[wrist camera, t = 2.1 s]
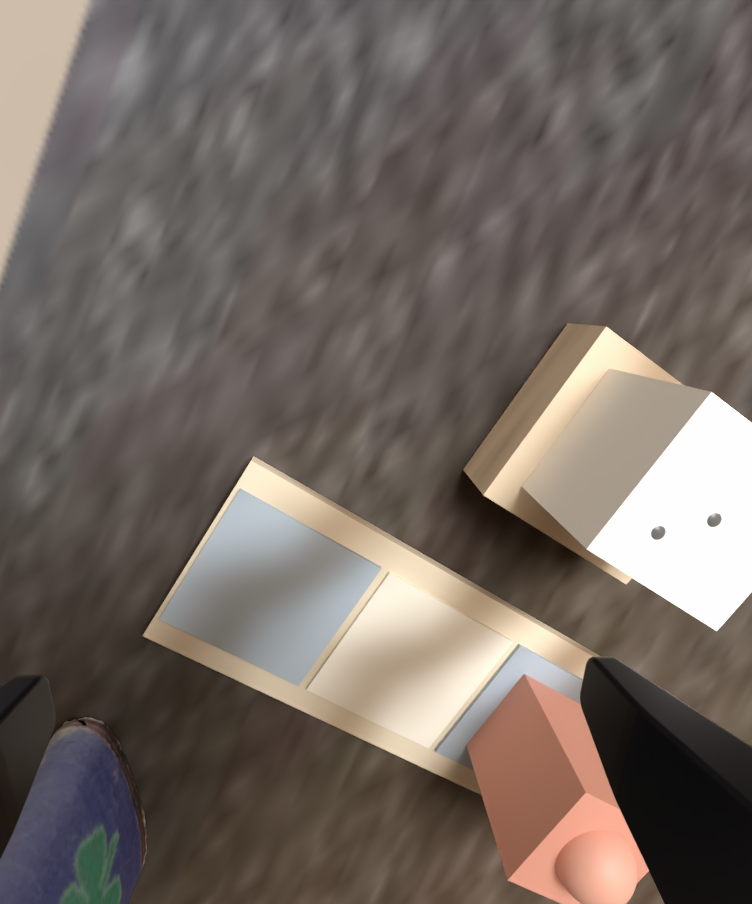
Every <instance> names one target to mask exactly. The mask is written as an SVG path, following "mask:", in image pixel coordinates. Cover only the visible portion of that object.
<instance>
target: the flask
mask: <svg viewBox="0 0 752 904" xmlns="http://www.w3.org/2000/svg"><path fill="white" fill-rule="evenodd" d="M78 720H83V721H84V722H85V723H86V725H87V726H85V725H81V724H82V723H80V722H78V721H77V720H76V719H74V720H72V721H69V722H68V721H66V722H65V723H64V724H63V725H62V726H61V727H60V728H59V729H58V730H57V731H56V732H55V733H54V735H53V737H52V738H51V740H50V741H49V744H48V746H47V749H46V751H45V754H44V756H43V759H42V761H41V764H40V767H39V769H38V772H37V774H36V777H35V779H34V782H33V784H32V787H31V790H30V792H29V795H28V797H27V800H26V802H25V805H24V807H23V810H22V813H21V815H20V818H19V820H18V822H17V825H16V827H15V829H14V832H13V834H12V836H11V838H10V840H9V843H8V845H7V847H6V849H5V851H4V853H3V855H2V857H1V859H0V904H128V903H129V900H130V897H131V895H132V892H133V890H134V888H135V885H136V883H137V881H138V878H139V876H140V874H141V870H142V867H143V865H144V863H145V859H144V858H145V856H146V853H147V847H146V846H147V843H146V836H147V835H146V834H147V831H146V830H147V829H145V823H146V820H145V813H144V812H143V809H142V803H141V801H140V800H139V797H138V795H137V792H136V791H137V789H136V787H137V786H136V785H135V783H134V780H133V777H132V774H131V770H130V768H129V767H128V764H127V763H128V762H127V759H125V757H126V756H125V755H124V754H123V752H122V748H121V747H122V746H121V744H120V743H119V741H118V740H117V738H116V737H115V736H114V735H113V733H112V732H111V731H110V730H111V729H109V727H108V725H107V726H105V725H104V722H103V721H100V720H96V719H94V718H89V717H84V718H81V719H78Z"/></svg>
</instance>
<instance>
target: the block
mask: <svg viewBox="0 0 752 904" xmlns="http://www.w3.org/2000/svg"><path fill="white" fill-rule="evenodd" d="M609 368H610V369H615V370H619V371H623V372H627V373H632V374H636V375H640V376H645V377H649V378H653V379H658V380H662V381H666V382H671V383H675V384H679V385H683V384H681V383H680V382H679V381H677V380H676V379H675V378H673V377H672V376H671V375H669V374H668V373H667V372H665V371H664V370H663V369H661V368H660V367H659V366H658V365H656V364H655V363H654V362H652V361H651V360H650V359H648V358H647V357H646V356H644V355H643V354H642V353H640V352H639V351H638V350H636V349H635V348H634V347H633V346H631V345H630V344H629V343H627V342H626V341H625V340H623V339H622V338H621V337H619V336H618V335H617V334H615V333H614V332H613V331H611V330H610V329H609V328H608V327H606V326H593V325H581V324H569V323H567V325H566V326H565V328H564V329H563V330H562V332H561V333H560V335H559V336H558V337H557V339H556V340H555V342H554V343H553V344H552V346H551V347H550V349H549V350H548V351H547V353H546V354H545V356H544V357H543V358H542V360H541V361H540V363H539V364H538V365H537V367H536V368H535V370H534V371H533V372H532V374H531V375H530V377H529V378H528V379H527V381H526V382H525V384H524V385H523V386H522V388H521V389H520V391H519V392H518V393H517V395H516V396H515V398H514V399H513V400H512V402H511V403H510V405H509V406H508V407H507V409H506V410H505V412H504V413H503V414H502V416H501V417H500V419H499V420H498V421H497V423H496V424H495V426H494V427H493V428H492V430H491V431H490V433H489V434H488V435H487V437H486V438H485V440H484V441H483V442H482V444H481V445H480V447H479V448H478V449H477V451H476V452H475V454H474V455H473V456H472V458H471V459H470V461H469V462H468V463H467V465H466V466H465V468H464V469H463V470H464V471H465V473H466V474H467V475H468V477H469V478H470V479H471V480H472V482H473V483H474V484H475V485H476V487H477V488H478V489H479V490H480V492H481V493H482V494H483V495H484V496H485V497H487V498H489V499H490V500H492V501H493V502H495V503H497V504H498V505H500V506H501V507H503V508H505V509H506V510H508V511H509V512H511V513H513V514H514V515H516V516H517V517H519V518H521V519H522V520H524V521H525V522H527V523H529V524H530V525H532V526H533V527H535V528H537V529H538V530H540V531H541V532H543V533H545V534H546V535H548V536H549V537H551V538H553V539H554V540H556V541H557V542H559V543H561V544H562V545H564V546H565V547H567V548H569V549H570V550H572V551H573V552H575V553H577V554H578V555H580V556H581V557H583V558H585V559H586V560H588V561H589V562H591V563H593V564H594V565H596V566H597V567H599V568H601V569H602V570H604V571H605V572H607V573H609V574H610V575H612V576H613V577H615V578H617V579H618V580H620V581H621V582H623V583H625V584H627V583H628V582H629V581H630V580H631V578H632V577H630V576H628V575H627V574H625V573H624V572H622V571H620V570H619V569H617V568H616V567H614V566H612V565H611V564H609V563H608V562H606V561H605V560H603V559H601V558H600V557H598V556H597V555H595V554H593V553H592V552H590V551H589V550H587V549H586V548H585V547H584V546H583V545H582V544H581V543H580V542H579V541H578V540H577V539H575V538H574V537H573V536H572V535H571V534H570V533H569V532H568V531H567V530H566V529H565V528H564V527H563V526H562V525H561V524H560V523H559V522H558V521H557V520H556V519H555V518H554V517H553V516H552V515H551V514H550V513H549V512H547V511H546V510H545V509H544V508H543V507H542V506H541V505H540V504H539V503H538V502H537V501H536V500H535V499H534V498H533V497H532V496H531V495H530V494H529V493H528V492H527V491H526V490H525V489H524V488H523V487H522V485H523V484H524V483H525V481H526V480H527V478H528V477H529V476H530V474H531V473H532V472H533V470H534V469H535V468H536V466H537V465H538V464H539V462H540V461H541V460H542V458H543V457H544V456H545V454H546V453H547V452H548V450H549V449H550V448H551V446H552V445H553V444H554V442H555V441H556V440H557V438H558V437H559V436H560V434H561V433H562V432H563V430H564V429H565V427H566V426H567V425H568V423H569V422H570V421H571V419H572V418H573V417H574V415H575V414H576V413H577V411H578V410H579V409H580V407H581V406H582V405H583V403H584V402H585V401H586V399H587V398H588V397H589V395H590V394H591V393H592V391H593V390H594V389H595V387H596V386H597V385H598V383H599V382H600V380H601V379H602V378H603V376H604V375H605V374H606V372H607V371H608V370H609Z"/></svg>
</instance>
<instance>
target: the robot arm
mask: <svg viewBox="0 0 752 904" xmlns="http://www.w3.org/2000/svg"><path fill="white" fill-rule="evenodd" d="M580 704H581V708H582V711H583V714H584V716H585V719H586V722H587V725H588V727H589V730H590V733H591V735H592V738H593V741H594V744H595V746H596V749H597V752H598V755H599V757H600V760H601V763H602V765H603V768H604V771H605V774H606V776H607V779H608V782H609V785H610V787H611V790H612V792H613V795H614V797H615V800H616V802H617V804H618V806H619V808H620V811H621V813H622V815H623V817H624V819H625V821H626V823H627V826H628V828H629V830H630V832H631V834H632V836H633V838H634V840H635V842H636V844H637V847H638V849H639V851H640V853H641V855H642V857H643V859H644V861H645V863H646V865H647V868H648V870H649V872H650V874H651V876H652V878H653V880H654V882H655V884H656V886H657V888H658V891H659V893H660V895H661V897H662V899H663V901H664V903H665V904H752V746H750V745H748V744H747V743H745V742H744V741H742V740H741V739H739V738H738V737H736V736H735V735H733V734H731V733H730V732H728V731H727V730H725V729H724V728H722V727H721V726H719V725H718V724H716V723H715V722H713V721H711V720H710V719H708V718H707V717H705V716H704V715H702V714H701V713H699V712H698V711H696V710H695V709H693V708H691V707H690V706H688V705H687V704H685V703H684V702H682V701H681V700H679V699H678V698H676V697H675V696H673V695H671V694H670V693H668V692H667V691H665V690H664V689H662V688H661V687H659V686H658V685H656V684H654V683H653V682H651V681H650V680H648V679H647V678H645V677H644V676H642V675H641V674H639V673H638V672H636V671H634V670H633V669H631V668H630V667H628V666H627V665H625V664H624V663H622V662H621V661H619V660H618V659H616V658H614V657H610V656H602V657H591V658H589V659H588V660H587V662H586V666H585V671H584V676H583V681H582V686H581V691H580ZM55 722H56V713H55V708H54V704H53V699H52V694H51V690H50V685H49V681H48V679H47V678H46V677H45V676H43V675H21V676H17V677H14V678H13V679H11V680H9V681H8V682H6V683H5V684H3V685H2V686H0V859H1V857H2V855H3V853H4V851H5V849H6V847H7V845H8V843H9V840H10V838H11V836H12V834H13V832H14V829H15V827H16V825H17V822H18V820H19V818H20V815H21V813H22V810H23V807H24V805H25V802H26V800H27V797H28V795H29V792H30V790H31V787H32V784H33V782H34V779H35V777H36V774H37V772H38V769H39V767H40V764H41V761H42V759H43V756H44V754H45V751H46V749H47V746H48V744H49V741H50V738H51V736H52V733H53V731H54V727H55Z"/></svg>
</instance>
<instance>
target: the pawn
mask: <svg viewBox="0 0 752 904" xmlns="http://www.w3.org/2000/svg"><path fill="white" fill-rule="evenodd" d="M467 748H468V752H469V755H470V758H471V762H472V765H473V768H474V771H475V775H476V778H477V781H478V785H479V788H480V791H481V794H482V798H483V801H484V804H485V808H486V811H487V814H488V817H489V821H490V824H491V827H492V831H493V834H494V837H495V840H496V844H497V847H498V850H499V854H500V857H501V860H502V863H503V867H504V870H505V873H506V877H507V880H508V881H510V882H513V883H515V884H517V885H520V886H522V887H524V888H527V889H529V890H531V891H534V892H536V893H538V894H541V895H543V896H545V897H548V898H550V899H552V900H555V901H557V902H559V903H561V904H626V903H627V902H628V901H629V899H630V898H631V897H632V895H633V893H634V890H635V887H636V884H637V883H638V882H639V881H640V880H641V878H642V877H643V876H644V875H645V874H646V873H647V872H648V871H649V870H648V868H647V865H646V863H645V861H644V859H643V857H642V855H641V853H640V851H639V849H638V847H637V844H636V842H635V840H634V838H633V836H632V834H631V832H630V830H629V828H628V826H627V823H626V821H625V819H624V817H623V815H622V813H621V811H620V808H619V806H618V804H617V802H616V800H615V797H614V795H613V792H612V790H611V787H610V785H609V782H608V779H607V776H606V774H605V771H604V768H603V765H602V763H601V760H600V757H599V755H598V752H597V749H596V746H595V744H594V741H593V738H592V735H591V733H590V730H589V727H588V725H587V722H586V719H585V716H584V714H583V711H582V708H581V704H579V703H577V702H575V701H574V700H572V699H570V698H568V697H566V696H564V695H562V694H561V693H559V692H557V691H555V690H553V689H551V688H550V687H548V686H546V685H544V684H542V683H540V682H539V681H537V680H535V679H533V678H531V677H529V676H528V675H526V674H524V675H523V676H522V677H521V678H520V679H519V681H518V682H517V683H516V684H515V686H514V687H513V688H512V689H511V691H510V692H509V693H508V694H507V695H506V697H505V698H504V699H503V700H502V702H501V703H500V704H499V705H498V707H497V708H496V709H495V710H494V711H493V713H492V714H491V715H490V716H489V718H488V719H487V720H486V721H485V723H484V724H483V725H482V726H481V727H480V729H479V730H478V731H477V732H476V734H475V735H474V736H473V737H472V739H471V740H470V741H469V742H468V743H467Z"/></svg>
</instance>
